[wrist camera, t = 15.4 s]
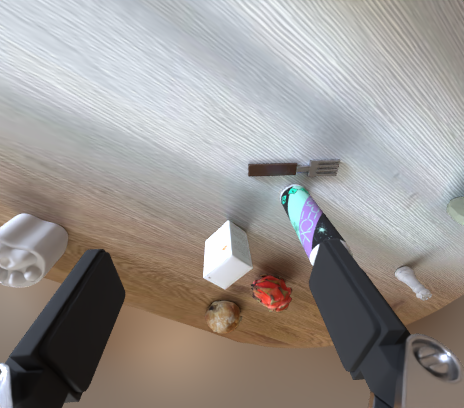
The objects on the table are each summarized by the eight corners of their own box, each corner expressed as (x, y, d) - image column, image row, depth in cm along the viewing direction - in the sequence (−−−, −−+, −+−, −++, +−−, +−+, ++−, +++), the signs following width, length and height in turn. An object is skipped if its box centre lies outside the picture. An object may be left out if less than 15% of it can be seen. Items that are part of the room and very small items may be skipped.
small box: (223, 252, 51) (224, 290, 42) (204, 240, 48) (202, 278, 40) (247, 232, 48) (254, 268, 39) (228, 218, 46) (231, 254, 37)
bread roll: (226, 286, 63) (217, 304, 55) (250, 311, 63) (245, 333, 55) (205, 302, 66) (194, 322, 59) (228, 326, 66) (220, 349, 59)
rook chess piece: (390, 275, 59) (412, 301, 52) (401, 264, 57) (426, 290, 50) (402, 277, 60) (426, 303, 53) (414, 266, 58) (440, 292, 51)
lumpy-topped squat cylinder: (72, 229, 45) (43, 260, 37) (59, 267, 50) (32, 301, 43) (13, 208, 41) (-31, 238, 34) (7, 251, 47) (-33, 285, 39)
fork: (247, 177, 41) (248, 178, 40) (248, 161, 39) (248, 162, 39) (335, 174, 42) (336, 176, 41) (339, 159, 40) (341, 160, 39)
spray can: (312, 192, 43) (373, 269, 26) (293, 211, 46) (339, 294, 29) (292, 179, 42) (345, 253, 25) (274, 199, 44) (310, 280, 27)
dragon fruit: (284, 285, 61) (249, 266, 59) (305, 285, 54) (266, 263, 51) (276, 316, 57) (238, 297, 55) (297, 321, 50) (255, 299, 47)
